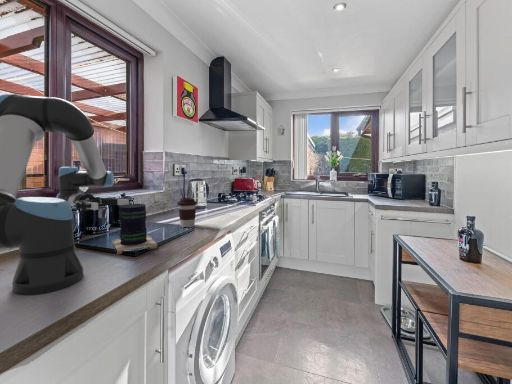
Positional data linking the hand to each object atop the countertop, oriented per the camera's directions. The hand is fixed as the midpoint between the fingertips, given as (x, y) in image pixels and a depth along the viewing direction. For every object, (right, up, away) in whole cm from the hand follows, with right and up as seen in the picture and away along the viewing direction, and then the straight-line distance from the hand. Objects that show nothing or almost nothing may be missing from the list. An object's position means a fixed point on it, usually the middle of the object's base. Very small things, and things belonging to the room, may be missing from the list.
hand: (113, 204), depth 106 cm
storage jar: (+10, -15, -3) cm, 18 cm away
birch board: (+10, -17, -3) cm, 20 cm away
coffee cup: (+22, -14, +32) cm, 41 cm away
